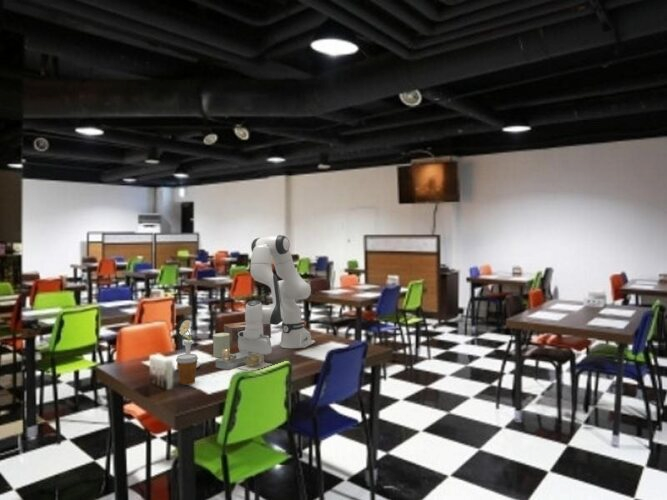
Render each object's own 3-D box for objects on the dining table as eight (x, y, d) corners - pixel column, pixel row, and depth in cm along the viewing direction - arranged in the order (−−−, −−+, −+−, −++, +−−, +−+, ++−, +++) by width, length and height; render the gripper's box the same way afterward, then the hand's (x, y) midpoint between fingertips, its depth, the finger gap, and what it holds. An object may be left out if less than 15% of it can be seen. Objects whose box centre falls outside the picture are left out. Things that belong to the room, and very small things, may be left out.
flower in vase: (175, 367, 235) (174, 317, 234) (198, 364, 239) (197, 316, 238) (177, 374, 223) (176, 322, 222) (202, 371, 227) (201, 320, 227)
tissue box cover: (231, 344, 283) (231, 328, 282) (224, 340, 295) (223, 324, 295) (270, 338, 296) (270, 323, 296) (261, 335, 309) (261, 320, 308)
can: (225, 357, 251) (225, 335, 251) (210, 357, 253) (209, 335, 253) (233, 353, 260) (232, 332, 260) (217, 352, 262) (217, 331, 262)
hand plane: (247, 357, 251) (246, 339, 251) (259, 359, 246) (259, 341, 246) (215, 367, 233) (215, 347, 233) (228, 370, 228) (227, 350, 228)
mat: (257, 362, 242) (257, 361, 242) (271, 365, 236) (271, 363, 236) (237, 368, 230) (237, 367, 230) (252, 372, 224) (252, 370, 224)
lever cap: (256, 360, 238) (256, 353, 237) (264, 361, 235) (264, 354, 235) (245, 364, 231) (245, 356, 231) (252, 365, 228) (252, 358, 228)
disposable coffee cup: (179, 379, 214) (178, 353, 214) (200, 378, 215) (199, 353, 215) (174, 386, 205) (173, 359, 204) (196, 385, 206) (195, 358, 205)
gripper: (274, 334, 229) (274, 362, 230) (244, 330, 241) (245, 356, 241) (265, 337, 224) (266, 365, 224) (235, 332, 235) (236, 359, 236)
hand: (255, 360), depth 233 cm, fingers closed on lever cap, 5 cm apart
